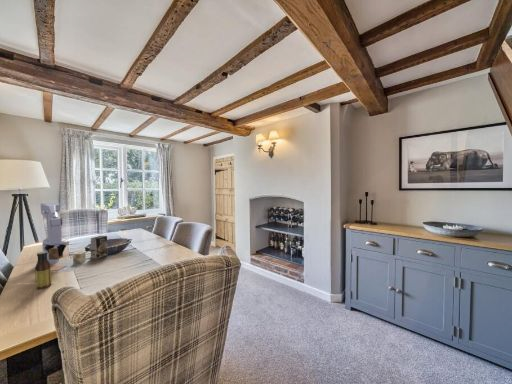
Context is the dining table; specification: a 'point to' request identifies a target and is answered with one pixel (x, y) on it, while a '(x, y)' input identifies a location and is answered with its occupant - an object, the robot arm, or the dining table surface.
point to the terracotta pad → (57, 268)
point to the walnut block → (54, 254)
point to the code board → (69, 265)
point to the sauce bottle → (42, 271)
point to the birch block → (78, 257)
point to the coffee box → (98, 246)
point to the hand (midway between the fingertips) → (56, 255)
